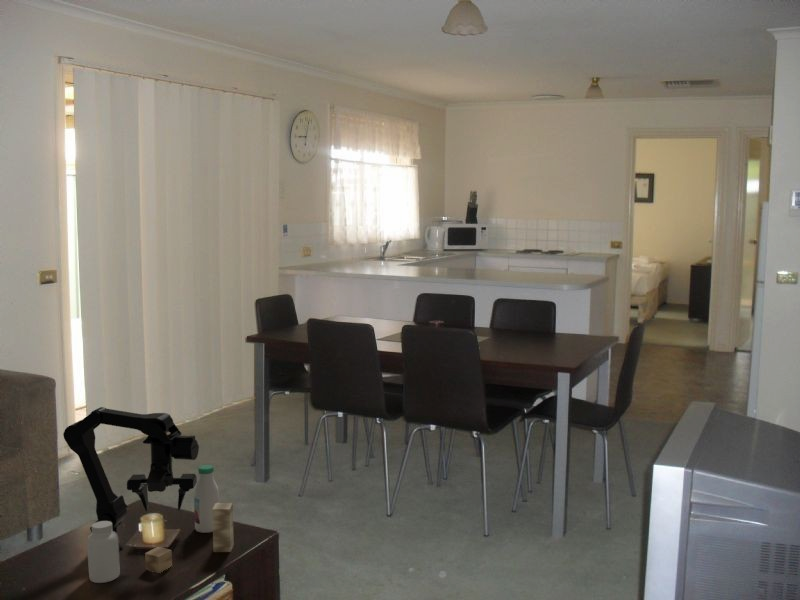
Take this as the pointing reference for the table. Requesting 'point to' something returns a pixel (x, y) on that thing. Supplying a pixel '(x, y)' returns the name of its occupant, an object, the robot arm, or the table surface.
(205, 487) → the milk bottle
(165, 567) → the oak cube
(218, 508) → the maple block
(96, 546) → the pill bottle
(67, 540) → the table surface
